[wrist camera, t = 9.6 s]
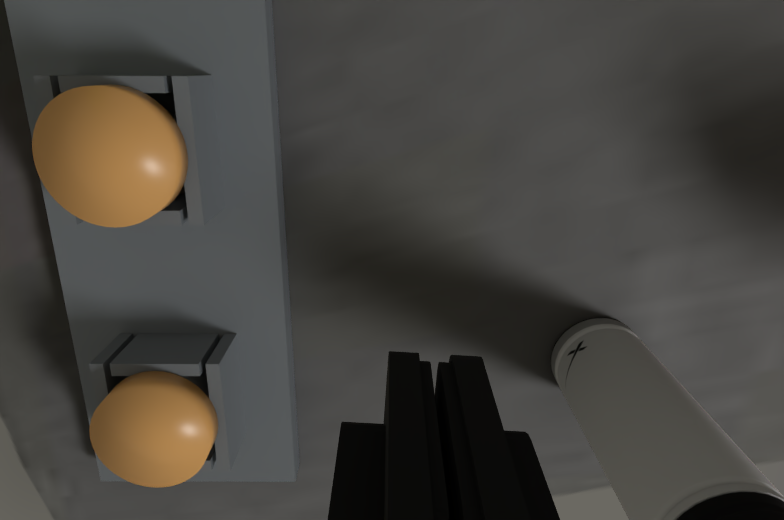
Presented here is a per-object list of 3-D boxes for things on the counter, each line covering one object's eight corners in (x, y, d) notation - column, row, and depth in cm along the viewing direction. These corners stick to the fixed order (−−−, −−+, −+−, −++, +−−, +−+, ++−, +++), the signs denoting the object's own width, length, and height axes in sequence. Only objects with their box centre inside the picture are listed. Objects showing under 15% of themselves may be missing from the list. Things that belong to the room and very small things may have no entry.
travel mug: (537, 330, 39) (677, 580, 20) (633, 306, 38) (870, 541, 19) (553, 405, 41) (694, 698, 22) (644, 384, 40) (870, 666, 21)
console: (25, -4, 32) (-54, -20, 26) (271, -3, 32) (245, -18, 26) (113, 462, 42) (70, 523, 37) (299, 463, 42) (285, 524, 37)
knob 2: (126, 339, 37) (79, 387, 31) (230, 339, 37) (202, 387, 31) (141, 428, 39) (100, 487, 33) (239, 428, 39) (214, 487, 33)
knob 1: (83, 82, 31) (18, 85, 26) (205, 82, 31) (165, 85, 26) (103, 201, 34) (47, 227, 28) (216, 201, 34) (183, 227, 28)
